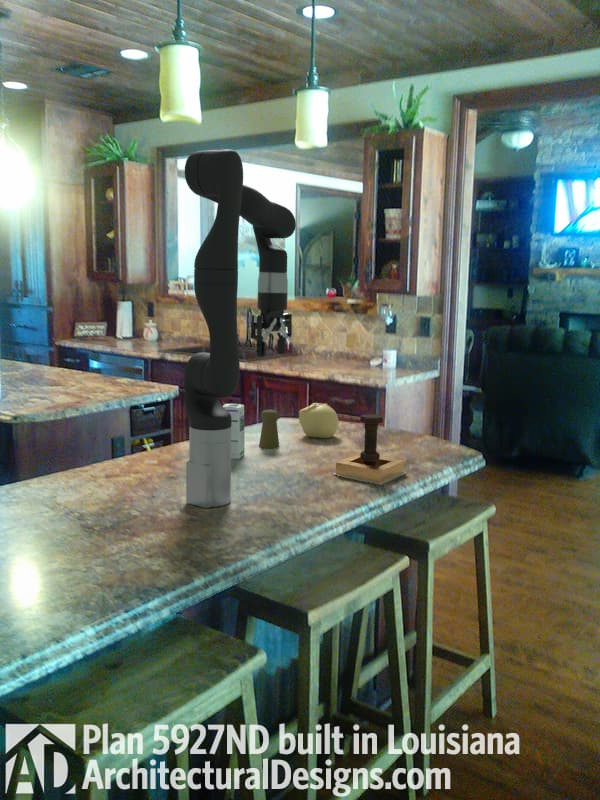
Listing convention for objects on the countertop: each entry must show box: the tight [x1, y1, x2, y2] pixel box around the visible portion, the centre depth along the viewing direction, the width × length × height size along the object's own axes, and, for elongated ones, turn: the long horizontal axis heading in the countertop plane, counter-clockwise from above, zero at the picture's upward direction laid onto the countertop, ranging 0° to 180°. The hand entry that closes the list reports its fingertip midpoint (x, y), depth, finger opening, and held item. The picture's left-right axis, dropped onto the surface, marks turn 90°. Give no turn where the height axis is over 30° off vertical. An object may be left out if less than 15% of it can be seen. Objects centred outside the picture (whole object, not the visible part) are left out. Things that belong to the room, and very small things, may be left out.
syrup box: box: [222, 403, 245, 460], centre depth 200 cm, size 6×6×14 cm
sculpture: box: [298, 402, 340, 439], centre depth 228 cm, size 11×12×11 cm
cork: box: [258, 409, 280, 450], centre depth 213 cm, size 6×6×11 cm
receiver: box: [332, 452, 407, 486], centre depth 187 cm, size 14×14×3 cm
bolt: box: [359, 413, 384, 467], centre depth 186 cm, size 6×5×15 cm
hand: (271, 355), depth 184 cm, fingers open, 8 cm apart
